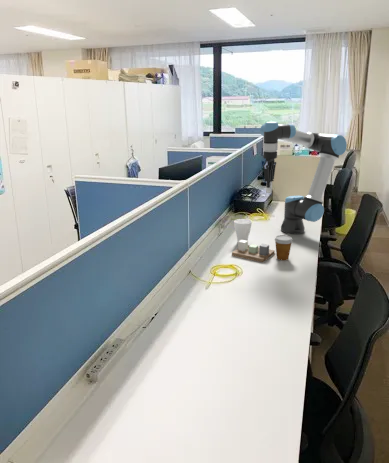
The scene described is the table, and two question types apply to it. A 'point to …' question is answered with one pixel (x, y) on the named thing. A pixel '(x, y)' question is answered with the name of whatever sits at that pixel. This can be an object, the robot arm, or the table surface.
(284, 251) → the disposable coffee cup
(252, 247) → the pale green block
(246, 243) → the white block
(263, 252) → the gray button
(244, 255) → the button board
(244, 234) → the cup
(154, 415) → the table surface
